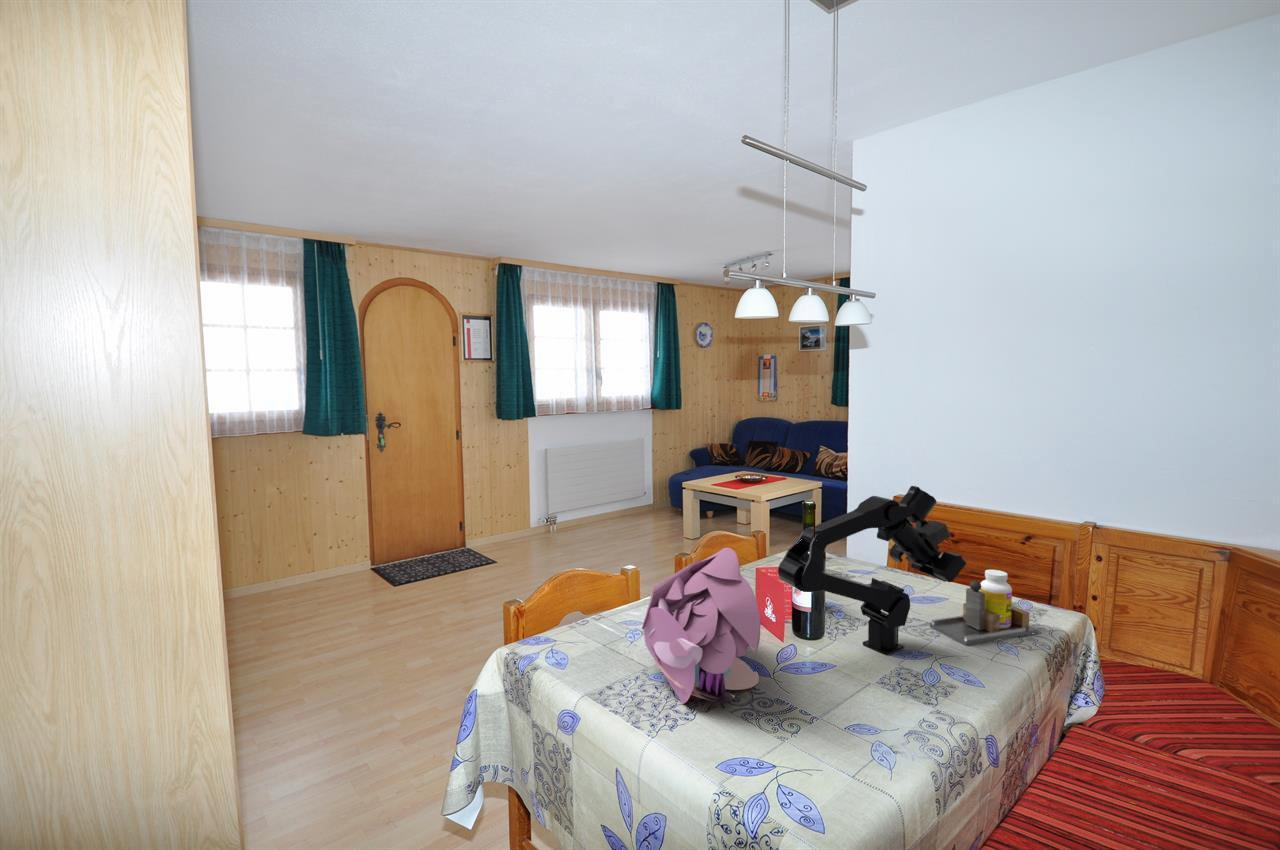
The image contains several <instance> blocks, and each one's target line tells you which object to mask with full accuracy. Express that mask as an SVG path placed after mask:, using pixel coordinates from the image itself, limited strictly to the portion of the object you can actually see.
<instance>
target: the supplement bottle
mask: <svg viewBox="0 0 1280 850" xmlns="http://www.w3.org/2000/svg"><path fill="white" fill-rule="evenodd" d="M1008 575H1009V574H1008V573H1007V572H1005V571H1004V570H1003V571H1002V570H998V569H986V570H984V577H985V579H983V580H982V581H981V582H980V584H981V589H980V590H979V591H981V592H983V593H985V609H986V610H989V611H991V612H993V613H996V614H998V615H1000V623H999V629H1006V628H1009V627H1010V626H1011V610H1012V606H1013V605H1012V602H1013V601H1012V600H1013V594H1012V593H1013V588H1012V586H1011V585H1010V584H1009V583H1008V582H1007V581H1008Z"/></svg>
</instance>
